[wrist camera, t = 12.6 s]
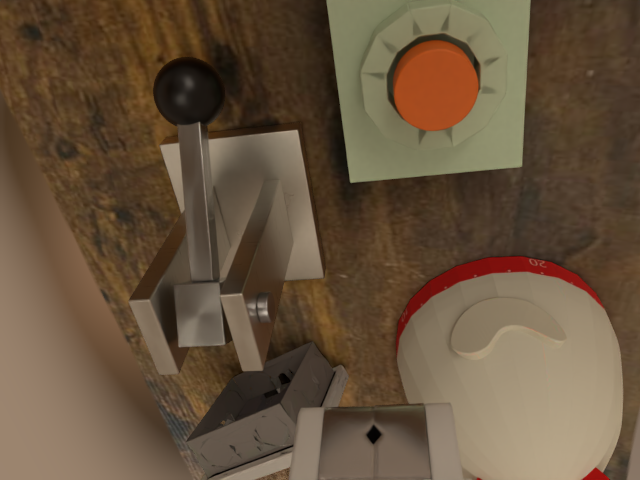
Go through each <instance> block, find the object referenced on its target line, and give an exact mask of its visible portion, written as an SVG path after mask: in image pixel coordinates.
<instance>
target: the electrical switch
mask: <svg viewBox="0 0 640 480" xmlns="http://www.w3.org/2000/svg"><path fill="white" fill-rule="evenodd" d="M292 356H293V357H292ZM291 357H292V358H291ZM289 369H290V370H291V372H292V373H293V374H294V375H295V376H294V375H293V374H291V373H290V371H289ZM261 372H263V373H261ZM281 373H284V374H285V375H286V376H287V377H288V378H289V379H290V380H291V382H290V383H287V384H283V385H282V384H281V382H280V379H279V377H278V376H279V374H281ZM251 375H252V376H251ZM268 375H269V376H271V379H270V377H269V376H268ZM348 377H349V376H348V374H347V372H346V370H345V369H344V367H343V366H342V365H339V366H337V367H334V368H331V366H330V365H329V363H328V361H327V360H326V359H325V358H324V357H323V356H322V355H321V353H320V352H319V350H318V348H317V347H316V345H315V344H314V342H313V341H312V342H310V343H307V344H305V345H303V346H301V347H299V348H296V349H294V350H292V351H290V352H288V353H285V354H283V355H281V356H279V357H277V358H274V359H272V360H270V361H268V362H265V365H264V369H263V370H262V371H246V372H243V373H241V374H239V375H237V376H235V377H233V378H234V380H235V381H236V383H237V384H236V383H235V381H234V380H233V379H231V380H230V381H229V383H228V384H227V386H226V387H225V388H224V390H223V391H222V393H221V394H220V395H219V397H218V398H217V399H216V401H215V402H214V404H213V405H212V406H211V408H210V409H209V411H208V412H207V413H206V415H205V416H204V417H203V419H202V420H201V422H200V423H199V424H198V426H197V427H196V429H195V430H194V431H193V433H192V434H191V435H190V437H189V438H188V440H187V441H186V443H187V444H188V446H189V447H190V448H191V450H192V451H193V452H194V454H195V455H196V457H197V459H198V462H199V464H200V466H201V467H202V468H203V470H204V471H205V474H204V475H203V477H202V478H201V480H255V479H258V478H260V477H263V476H266V475H269V474H272V473H274V472H277V471H280V470H283V469H286V468H288V467H290V466H291V459H292V452H293V446H294V439H295V432H296V425H297V418H298V414H299V411H300V409H301V408H313V407H338V405H339V402H340V400H341V397H342V394H343V391H344V388H345V386H346V383H347V380H348ZM273 383H274V384H273ZM274 385H275V386H274ZM238 386H239V387H238ZM250 387H251V389H252V390H251V389H250ZM274 387H275V389H274ZM230 390H231V391H230ZM253 397H254V398H253ZM223 420H224V421H225V424H224V425H223V424H220V423H221V422H222V421H223Z"/></svg>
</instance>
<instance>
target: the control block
mask: <svg viewBox="0 0 640 480" xmlns="http://www.w3.org/2000/svg"><path fill="white" fill-rule="evenodd" d="M326 2H327V9H328V17H329V25H330V32H331V40H332V48H333V55H334V63H335V71H336V78H337V86H338V94H339V101H340V109H341V117H342V124H343V132H344V140H345V147H346V155H347V163H348V170H349V178H350V183H354V182H365V181H375V180H386V179H397V178H407V177H418V176H429V175H439V174H450V173H461V172H471V171H482V170H493V169H503V168H514V167H522V154H523V134H524V115H525V96H526V77H527V58H528V38H529V19H530V0H326ZM430 40H443V41H447V42H450V43H452V44H454V45H456V46H458V47H459V48H460V49H462V51H463V52H464V53H465V54H466V55H467V57H468V58H469V60H470V62H471V64H472V65H473V67H474V69H475V71H476V74H477V78H478V86H479V87H478V95H477V99H476V102H475V104H474V106H473V108H472V109H471V111H470V112H469V113H468V115H467V116H466V117H465V118H464V119H463V120H462V121H460V122H459V123H457V124H456V125H454V126H452V127H450V128H447V129H444V130H439V131H426V130H421V129H418V128H416V127H414V126H412V125H410V124H409V123H408V122H406V121H405V120H404V119H403V117H402V116H401V115H400V113H399V112H398V110H397V107H396V105H395V101H394V92H393V76H394V72H395V69H396V66H397V64H398V62H399V61H400V59H401V58H402V56H403V55H404V54H405V53H406V52H407V51H408V50H410V49H411V48H412V47H414V46H416V45H418V44H420V43H422V42H425V41H430Z"/></svg>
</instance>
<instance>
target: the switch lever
mask: <svg viewBox="0 0 640 480" xmlns="http://www.w3.org/2000/svg"><path fill="white" fill-rule="evenodd" d="M153 95H154V100H155V103H156V106H157V108H158V110H159V112H160V113H161V114H162V116H163V117H164V118H165V119H166V120H167V121H169V122H170V123H172V124H173V125H175V126H177V127H178V138H179V150H180V161H181V173H182V184H183V196H184V208H185V219H186V231H187V242H188V254H189V265H190V277H191V280H190V281H187V282H183V283H179V284H176V285H174V286H173V289H174V301H175V312H176V324H177V335H178V346H179V347H199V346H219V345H226V344H227V343H229V342H230V341H232V340H233V338H232V335H231V332H230V329H229V325H228V322H227V319H226V316H225V312H224V309H223V306H222V303H221V299H220V296H219V295H220V292H221V290H222V287H223V285H224V282H225V280H226V277H223V278H220V269H219V257H218V246H217V234H216V222H215V211H214V199H213V187H212V175H211V164H210V152H209V140H208V129H207V125H209V124H211V123H212V122H213V121H214V120H216V118H217V117H218V116H219V115H220V113H221V111H222V109H223V106H224V102H225V88H224V84H223V82H222V79H221V77H220V76H219V74H218V73H217V71H216V70H215V69H214V68H213V67H212V66H211V65H209V64H208V63H206V62H205V61H203V60H200V59H197V58H193V57H181V58H177V59H174V60H172V61H170V62H169V63H167V64H166V65H165V66H163V67H162V69H161V70H160V71H159V73H158V74H157V76H156V79H155V82H154V88H153Z"/></svg>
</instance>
